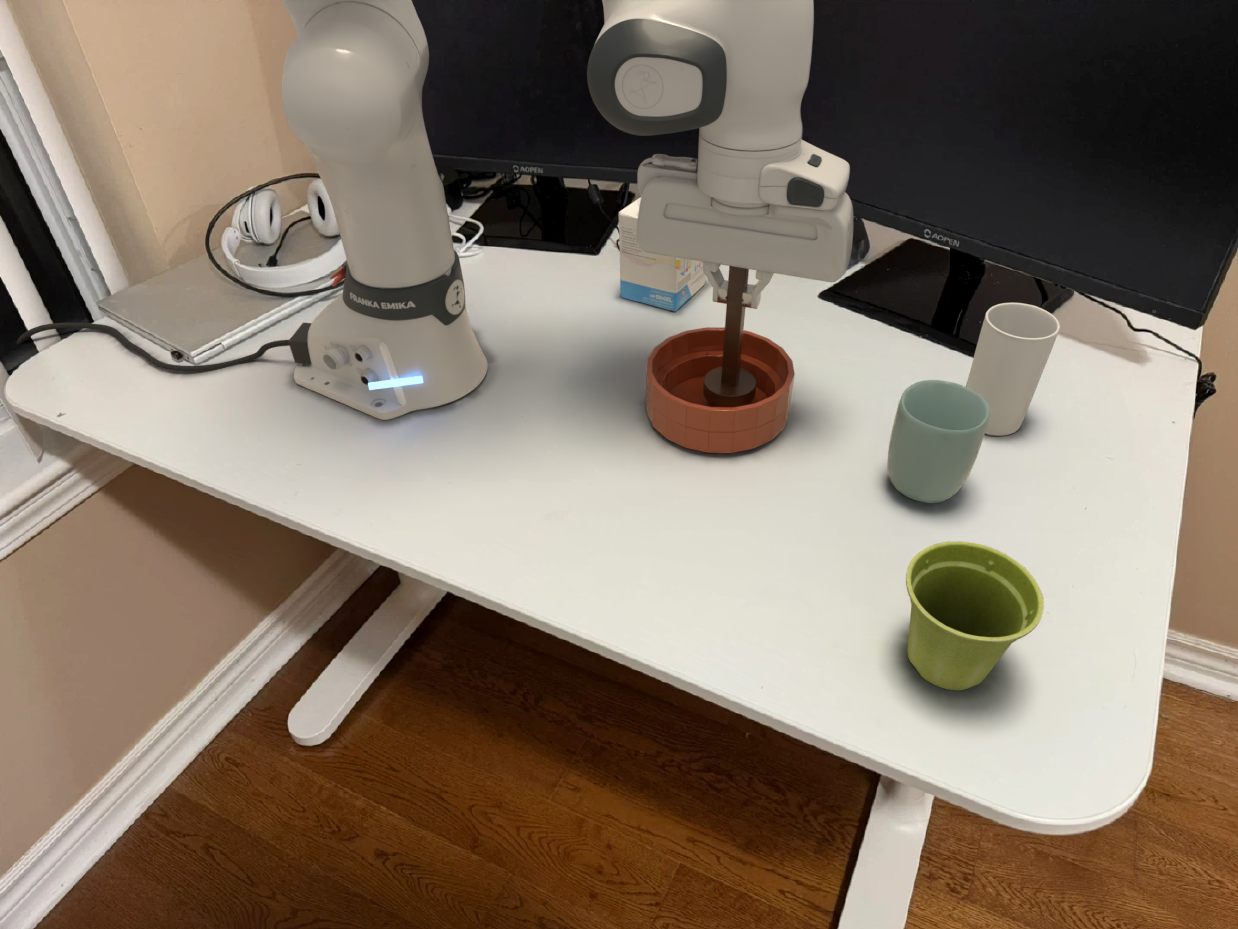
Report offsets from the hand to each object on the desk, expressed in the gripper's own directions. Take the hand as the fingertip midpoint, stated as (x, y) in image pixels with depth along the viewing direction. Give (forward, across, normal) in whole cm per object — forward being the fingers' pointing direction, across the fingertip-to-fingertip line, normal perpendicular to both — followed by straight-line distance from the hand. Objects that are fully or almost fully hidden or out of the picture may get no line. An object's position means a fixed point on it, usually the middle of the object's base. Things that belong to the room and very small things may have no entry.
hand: (736, 302), depth 84 cm
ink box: (+13, -15, +22) cm, 29 cm away
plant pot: (+13, +25, -26) cm, 39 cm away
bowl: (+13, -1, -1) cm, 13 cm away
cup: (+13, +21, -6) cm, 26 cm away
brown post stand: (+11, 0, 0) cm, 11 cm away
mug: (+13, +27, +9) cm, 31 cm away
